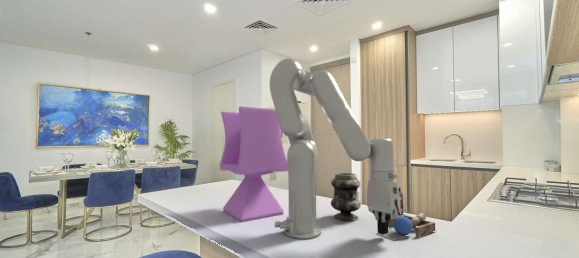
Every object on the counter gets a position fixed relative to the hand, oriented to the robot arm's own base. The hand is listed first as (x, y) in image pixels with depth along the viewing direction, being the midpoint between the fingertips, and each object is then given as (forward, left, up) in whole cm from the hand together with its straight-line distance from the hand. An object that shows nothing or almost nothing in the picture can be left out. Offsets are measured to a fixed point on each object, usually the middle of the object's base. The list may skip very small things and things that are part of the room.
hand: (382, 233), depth 83 cm
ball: (+8, +1, +2) cm, 8 cm away
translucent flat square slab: (+5, +2, -2) cm, 5 cm away
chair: (-39, +40, -2) cm, 55 cm away
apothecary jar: (-2, +24, -2) cm, 24 cm away
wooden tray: (+14, +5, -1) cm, 15 cm away
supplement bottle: (+22, +25, -2) cm, 33 cm away
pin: (+11, +4, 0) cm, 12 cm away
